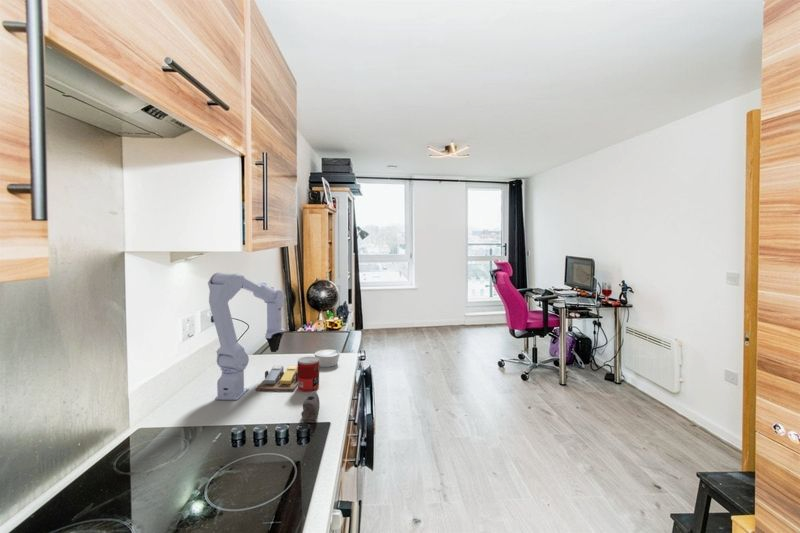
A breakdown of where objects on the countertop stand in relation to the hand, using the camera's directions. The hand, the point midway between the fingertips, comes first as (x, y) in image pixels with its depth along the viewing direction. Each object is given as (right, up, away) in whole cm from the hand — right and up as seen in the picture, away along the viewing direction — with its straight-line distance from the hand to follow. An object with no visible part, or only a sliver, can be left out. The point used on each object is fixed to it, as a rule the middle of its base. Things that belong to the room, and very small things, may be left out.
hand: (274, 351), depth 150 cm
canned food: (+17, -11, -13) cm, 24 cm away
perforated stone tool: (+24, -13, -35) cm, 44 cm away
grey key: (+3, -7, -9) cm, 12 cm away
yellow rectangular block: (+9, -7, -9) cm, 14 cm away
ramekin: (+19, -10, +15) cm, 26 cm away
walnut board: (+6, -11, -8) cm, 15 cm away
